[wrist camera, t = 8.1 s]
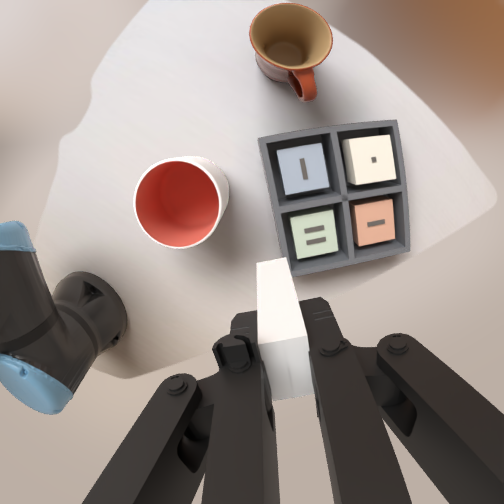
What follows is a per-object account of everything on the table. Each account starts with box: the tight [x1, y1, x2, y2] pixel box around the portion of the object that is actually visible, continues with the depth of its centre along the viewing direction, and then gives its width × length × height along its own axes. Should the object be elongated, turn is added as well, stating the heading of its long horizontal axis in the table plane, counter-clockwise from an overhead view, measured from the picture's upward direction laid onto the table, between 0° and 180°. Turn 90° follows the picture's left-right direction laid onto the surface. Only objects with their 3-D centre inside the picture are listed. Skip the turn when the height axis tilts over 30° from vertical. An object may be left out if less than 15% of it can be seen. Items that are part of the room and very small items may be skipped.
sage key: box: [288, 205, 338, 259], centre depth 38 cm, size 6×6×4 cm
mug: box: [249, 3, 333, 103], centre depth 29 cm, size 12×9×10 cm
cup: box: [134, 156, 229, 249], centre depth 35 cm, size 10×10×10 cm
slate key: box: [275, 143, 329, 195], centre depth 36 cm, size 6×6×4 cm
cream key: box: [341, 135, 396, 185], centre depth 33 cm, size 6×6×4 cm
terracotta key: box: [348, 195, 395, 246], centre depth 38 cm, size 6×6×4 cm
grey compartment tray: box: [258, 120, 410, 277], centre depth 37 cm, size 18×18×5 cm
